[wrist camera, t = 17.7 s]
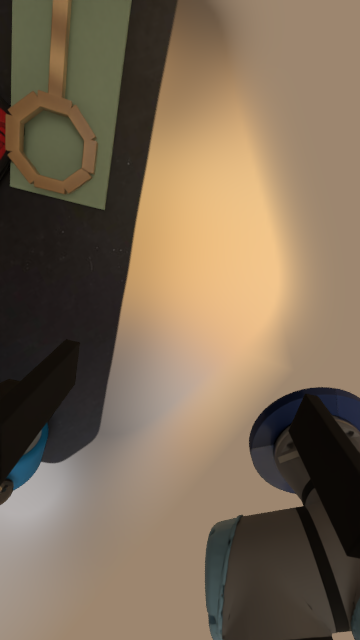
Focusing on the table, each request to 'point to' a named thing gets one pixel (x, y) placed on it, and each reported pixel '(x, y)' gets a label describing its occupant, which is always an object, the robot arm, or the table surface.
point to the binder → (0, 154)
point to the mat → (70, 90)
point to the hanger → (55, 104)
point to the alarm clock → (25, 466)
